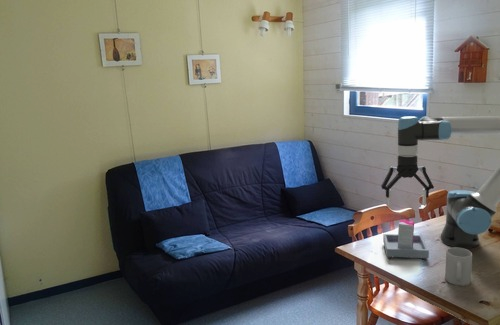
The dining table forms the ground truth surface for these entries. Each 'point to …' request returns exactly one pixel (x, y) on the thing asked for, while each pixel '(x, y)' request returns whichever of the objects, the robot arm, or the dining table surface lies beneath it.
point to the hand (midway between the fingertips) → (406, 204)
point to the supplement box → (405, 234)
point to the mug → (458, 266)
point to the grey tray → (416, 252)
